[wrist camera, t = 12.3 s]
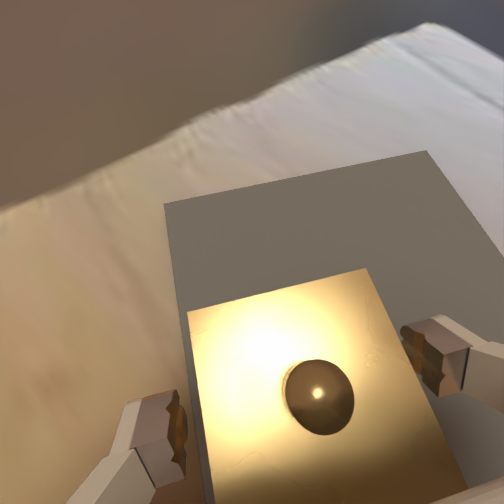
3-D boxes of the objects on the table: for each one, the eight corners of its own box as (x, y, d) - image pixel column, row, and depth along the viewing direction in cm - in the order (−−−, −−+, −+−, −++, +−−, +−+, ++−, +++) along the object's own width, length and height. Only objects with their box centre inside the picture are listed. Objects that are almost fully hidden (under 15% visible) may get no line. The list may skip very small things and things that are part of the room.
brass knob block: (351, 426, 13) (510, 515, 5) (240, 461, 13) (223, 626, 5) (312, 314, 16) (379, 255, 8) (217, 339, 15) (178, 305, 7)
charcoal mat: (619, 440, 14) (639, 444, 13) (222, 591, 11) (220, 606, 11) (420, 157, 22) (426, 150, 22) (166, 209, 20) (163, 203, 19)
